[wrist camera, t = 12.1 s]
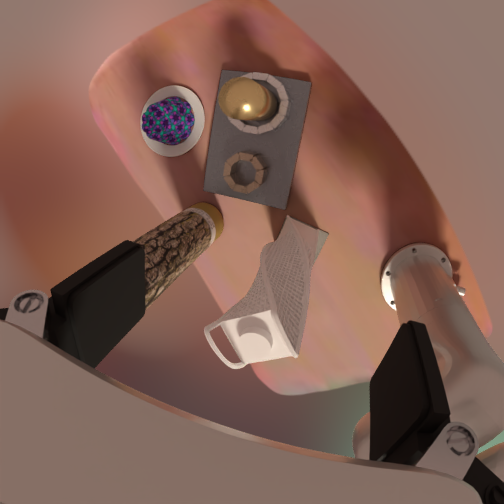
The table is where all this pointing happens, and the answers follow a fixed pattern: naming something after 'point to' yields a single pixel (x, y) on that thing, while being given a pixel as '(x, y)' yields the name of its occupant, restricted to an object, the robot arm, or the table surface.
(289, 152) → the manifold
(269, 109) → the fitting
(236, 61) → the table surface
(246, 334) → the skyscraper
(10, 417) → the robot arm
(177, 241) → the paper tube
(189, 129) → the pudding
